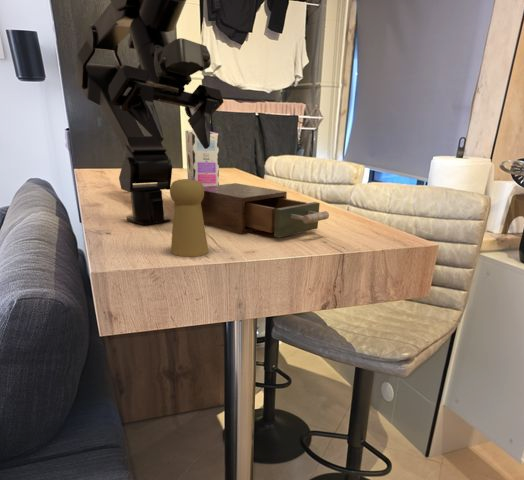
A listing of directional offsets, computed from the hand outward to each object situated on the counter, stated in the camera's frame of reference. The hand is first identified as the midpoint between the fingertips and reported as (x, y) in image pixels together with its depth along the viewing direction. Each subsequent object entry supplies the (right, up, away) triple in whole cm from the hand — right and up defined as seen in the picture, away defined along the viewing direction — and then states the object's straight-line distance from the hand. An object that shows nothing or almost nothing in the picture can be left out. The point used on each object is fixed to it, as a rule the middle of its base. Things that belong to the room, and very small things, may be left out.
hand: (185, 144), depth 73 cm
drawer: (+16, -10, +14) cm, 23 cm away
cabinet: (+7, -7, +21) cm, 23 cm away
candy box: (-2, +1, +35) cm, 35 cm away
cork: (+1, -17, +1) cm, 17 cm away
